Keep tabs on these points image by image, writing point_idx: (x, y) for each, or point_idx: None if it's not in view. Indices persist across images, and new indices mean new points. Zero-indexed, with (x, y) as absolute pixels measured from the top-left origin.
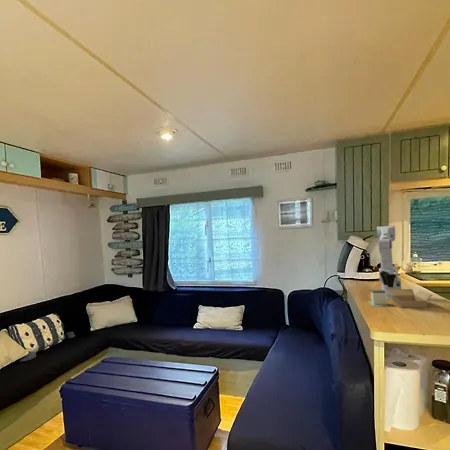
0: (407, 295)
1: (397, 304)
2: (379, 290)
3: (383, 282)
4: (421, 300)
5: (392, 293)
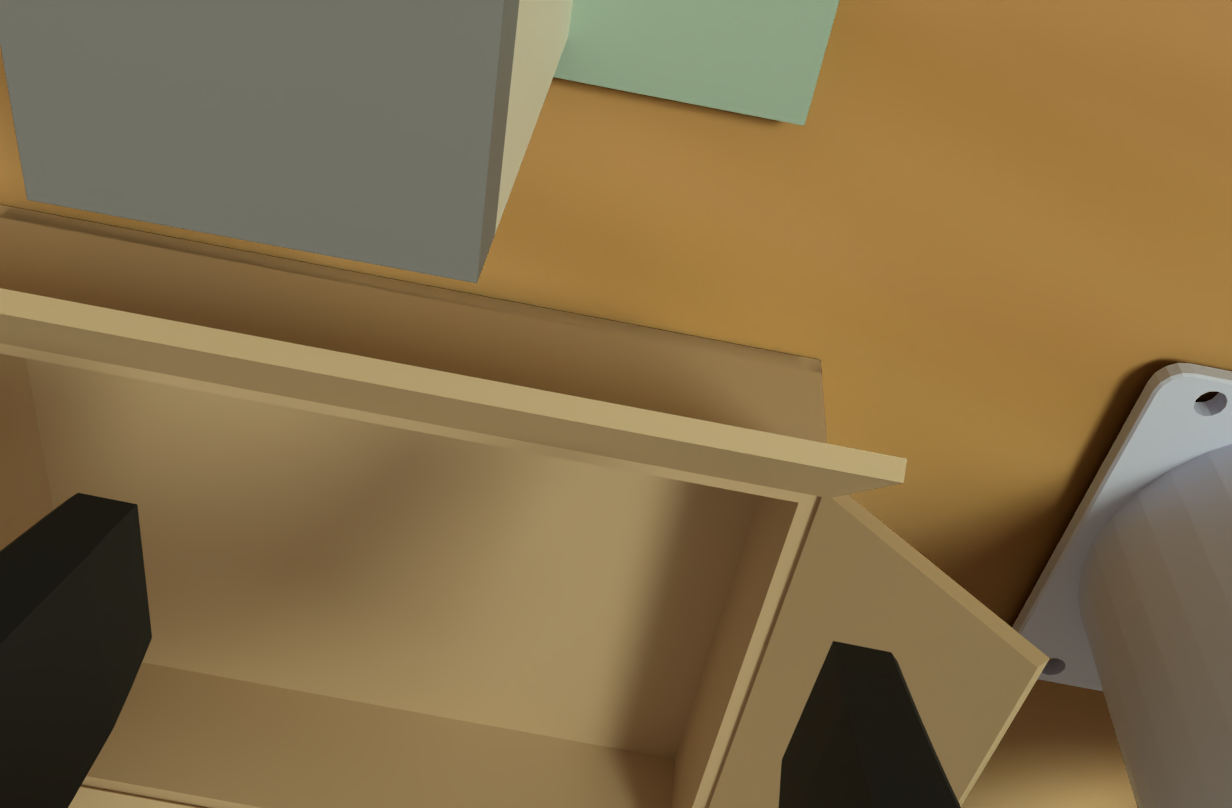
0: (695, 793)
1: (205, 270)
2: (188, 8)
3: (890, 743)
4: (244, 769)
5: (853, 595)
